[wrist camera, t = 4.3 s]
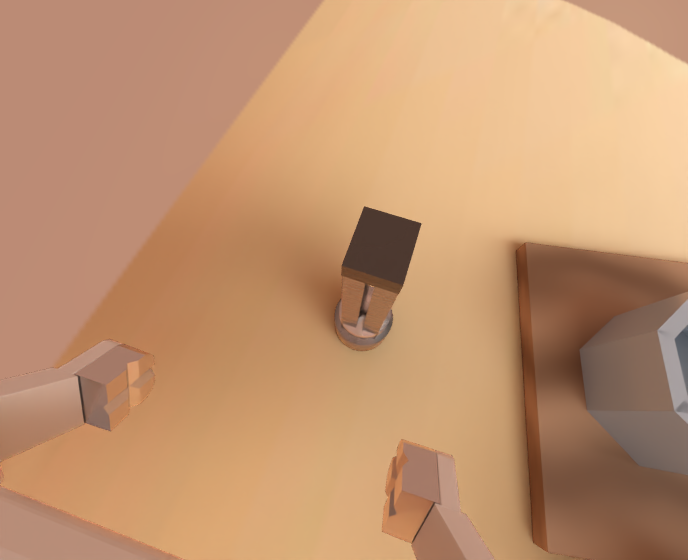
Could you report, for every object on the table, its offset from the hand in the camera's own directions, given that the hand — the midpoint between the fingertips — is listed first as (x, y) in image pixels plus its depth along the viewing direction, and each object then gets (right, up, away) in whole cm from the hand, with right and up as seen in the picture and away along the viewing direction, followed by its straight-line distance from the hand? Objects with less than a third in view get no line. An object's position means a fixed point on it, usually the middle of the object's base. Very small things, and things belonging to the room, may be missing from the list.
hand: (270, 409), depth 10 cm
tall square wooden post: (+4, +1, +15) cm, 15 cm away
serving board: (+23, -4, +13) cm, 27 cm away
